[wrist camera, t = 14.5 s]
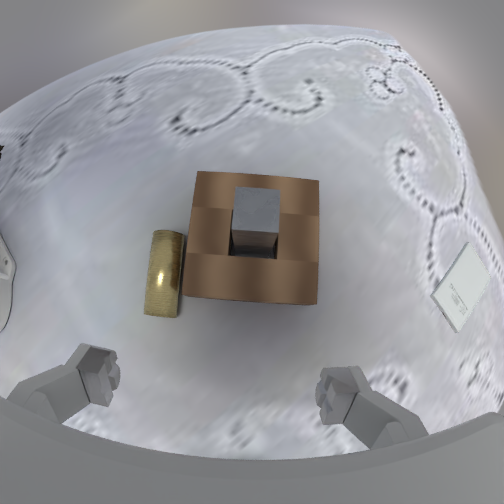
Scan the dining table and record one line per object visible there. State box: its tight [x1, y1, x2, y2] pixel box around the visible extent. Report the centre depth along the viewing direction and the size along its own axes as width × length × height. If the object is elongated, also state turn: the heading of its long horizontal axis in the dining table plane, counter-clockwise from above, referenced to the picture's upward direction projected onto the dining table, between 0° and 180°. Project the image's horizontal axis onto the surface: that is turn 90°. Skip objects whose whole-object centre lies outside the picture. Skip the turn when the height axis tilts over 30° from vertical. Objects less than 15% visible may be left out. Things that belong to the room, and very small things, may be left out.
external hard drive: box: [430, 242, 491, 333], centre depth 36 cm, size 2×8×12 cm
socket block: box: [182, 171, 319, 305], centre depth 35 cm, size 15×15×4 cm
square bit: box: [232, 187, 280, 259], centre depth 31 cm, size 4×4×12 cm
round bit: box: [144, 230, 185, 318], centre depth 34 cm, size 10×4×4 cm
